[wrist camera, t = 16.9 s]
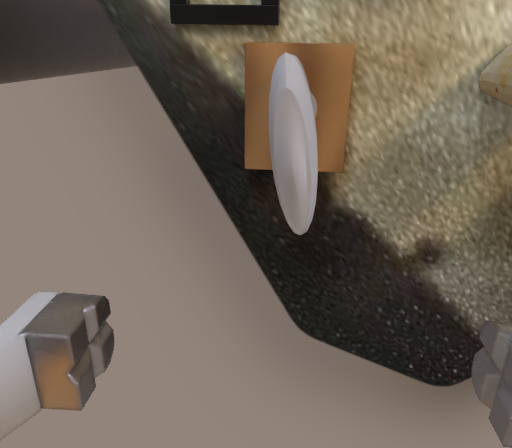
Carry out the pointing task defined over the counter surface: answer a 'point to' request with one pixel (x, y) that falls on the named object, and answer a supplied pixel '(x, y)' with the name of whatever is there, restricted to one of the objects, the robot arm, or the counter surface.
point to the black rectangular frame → (225, 13)
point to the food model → (499, 77)
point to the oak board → (321, 86)
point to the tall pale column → (293, 141)
